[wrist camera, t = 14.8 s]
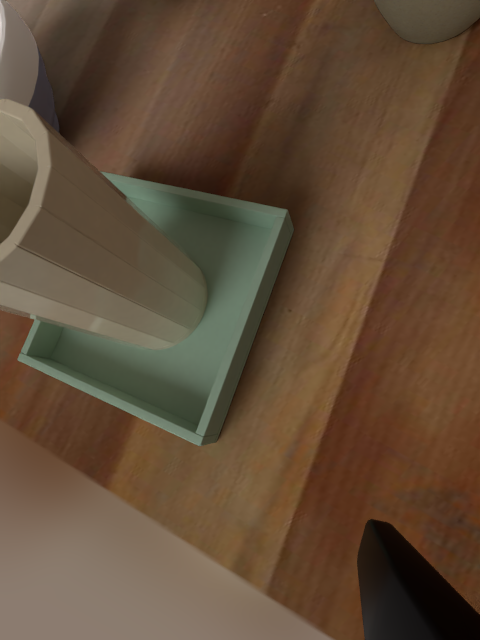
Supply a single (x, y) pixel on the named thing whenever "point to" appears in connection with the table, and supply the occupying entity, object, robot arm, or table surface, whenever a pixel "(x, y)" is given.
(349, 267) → the table surface
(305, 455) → the table surface
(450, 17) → the flower pot
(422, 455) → the table surface
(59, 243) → the rice cup
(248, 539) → the table surface
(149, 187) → the serving tray
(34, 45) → the bowl
